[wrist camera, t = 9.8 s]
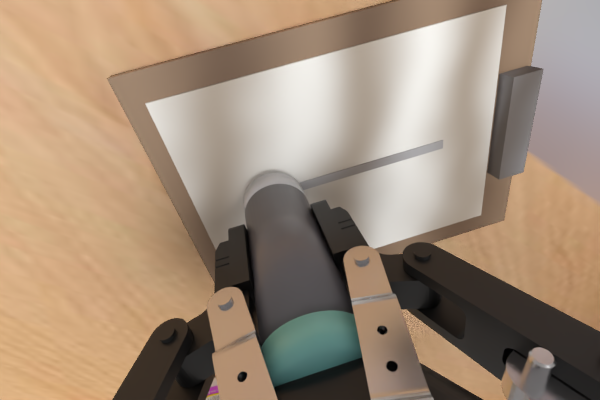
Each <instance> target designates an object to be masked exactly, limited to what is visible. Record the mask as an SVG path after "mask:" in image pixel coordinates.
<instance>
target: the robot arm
mask: <svg viewBox="0 0 600 400" xmlns="http://www.w3.org/2000/svg"><path fill="white" fill-rule="evenodd" d="M310 206H311V210H312V213H313V215H314V217H315V219H316V222H317V224H318V226H319V229H320V231H321V233H322V235H323V238H324V240H325V242H326V244H327V247H328V249H329V251H330V253H331V256H332V258H333V260H334V262H335V265H336V266H337V268H338V270H339V272H340V274H341V276H342V279H343V281H344V283H345V285H346V287H347V290H348V292H349V294H350V297H351V302H352V307H353V312H354V317H355V322H356V327H357V332H358V337H359V342H360V348H361V353H362V358H359V359H356V360H353V361H350V362H347V363H344V364H341V365H338V366H335V367H332V368H329V369H326V370H323V371H320V372H317V373H314V374H311V375H308V376H305V377H302V378H299V379H296V380H293V381H290V382H287V383H284V384H281V385H278V386H275V385H274V382H273V380H272V377H271V374H270V371H269V368H268V365H267V362H266V359H265V356H264V352H263V349H262V344H261V341H260V339H259V330H258V322H257V313H256V305H255V297H254V285H253V277H252V269H251V260H250V252H249V244H248V235H247V229H246V226H245V225H244V224H242V225H239V226H236V227H232V228H229V229H228V241H224V242H221V243H220V244H219V246H218V247H217V249H216V251H215V294H214V295H213V296H212V297H211V298H210V299H209V301H208V304H207V310H206V311H204V312H203V313H202V314H200V315H199V316H197V317H196V318H194V319H192V320H191V321H189V322H187V323H186V322H185V321H184V320H183V319H180V318H174V319H170V320H168V321H166V322H164V323H162V324H161V325H160V326H159V327H157V328H156V329H155V331H154V332H153V333H152V335H151V336H150V338H149V340H148V341H147V343H146V345H145V346H144V348H143V350H142V351H141V353H140V355H139V356H138V358H137V360H136V361H135V363H134V365H133V366H132V368H131V370H130V371H129V373H128V375H127V376H126V378H125V380H124V381H123V383H122V385H121V386H120V388H119V390H118V391H117V393H116V395H115V396H114V398H113V400H206V397H207V395H208V392H209V390H210V387H211V385H212V382H213V379H214V377H215V375H216V381H217V386H218V391H219V396H220V400H483V399H481V398H479V397H478V396H476V395H474V394H472V393H471V392H469V391H467V390H466V389H464V388H462V387H460V386H459V385H457V384H455V383H454V382H452V381H450V380H448V379H447V378H445V377H443V376H442V375H440V374H438V373H437V372H435V371H433V370H431V369H430V368H428V367H426V366H425V365H423V364H421V363H420V362H419V360H418V357H417V354H416V351H415V348H414V345H413V342H412V339H411V336H410V334H409V331H408V328H407V325H406V322H405V319H404V316H403V313H402V310H401V309H407V310H408V311H409V312H410V313H411V314H413V315H414V316H415V317H417V318H418V319H419V320H421V321H422V322H424V323H425V324H426V325H428V326H429V327H430V328H432V329H433V330H434V331H436V332H437V333H438V334H440V335H441V336H442V337H444V338H445V339H446V340H448V341H449V342H450V343H452V344H453V345H454V346H456V347H457V348H458V349H460V350H461V351H462V352H464V353H465V354H466V355H468V356H469V357H470V358H472V359H473V360H474V361H476V362H477V363H478V364H480V365H481V366H482V367H484V368H485V369H486V370H488V371H489V372H490V373H492V374H493V375H494V376H496V377H497V378H498V379H500V380H501V387H502V391H503V393H504V396H505V397H506V399H507V400H600V332H599V331H597V330H595V329H594V328H592V327H590V326H588V325H586V324H584V323H582V322H580V321H578V320H576V319H574V318H573V317H571V316H569V315H567V314H565V313H563V312H561V311H559V310H557V309H555V308H553V307H551V306H550V305H548V304H546V303H544V302H542V301H540V300H538V299H536V298H534V297H532V296H530V295H529V294H527V293H525V292H523V291H521V290H519V289H517V288H515V287H513V286H511V285H509V284H508V283H506V282H504V281H502V280H500V279H498V278H496V277H494V276H492V275H490V274H488V273H487V272H485V271H483V270H481V269H479V268H477V267H475V266H473V265H471V264H469V263H467V262H466V261H464V260H462V259H460V258H458V257H456V256H454V255H452V254H450V253H448V252H446V251H444V250H443V249H441V248H439V247H437V246H435V245H433V244H430V243H426V242H416V243H412V244H410V245H408V246H407V247H406V248H405V249H404V250H403V254H393V255H387V254H381V253H378V252H377V251H376V250H375V249H374V248H372V247H369V245H368V244H367V242H366V240H365V239H364V237H363V235H362V234H361V232H360V231H359V229H358V227H357V226H356V224H355V222H354V221H353V220H352V218H351V216H350V214H349V213H348V211H346V210H345V209H343V208H341V207H336V208H333V209H330V207H329V205H328V203H327V201H326V200H322V201H319V202H315V203H312V204H310Z"/></svg>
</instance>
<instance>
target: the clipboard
mask: <svg viewBox="0 0 600 400" xmlns="http://www.w3.org/2000/svg"><path fill="white" fill-rule="evenodd" d="M541 4H542V0H393V1H390V2H386V3H382V4H378V5H375V6H371V7H367V8H363V9H360V10H356V11H352V12H349V13H345V14H341V15H337V16H334V17H330V18H326V19H322V20H319V21H315V22H311V23H307V24H304V25H300V26H296V27H292V28H289V29H285V30H281V31H277V32H274V33H270V34H266V35H262V36H259V37H255V38H251V39H247V40H244V41H240V42H236V43H232V44H229V45H225V46H221V47H217V48H214V49H210V50H206V51H202V52H199V53H195V54H191V55H187V56H184V57H180V58H176V59H172V60H169V61H165V62H161V63H158V64H154V65H150V66H146V67H143V68H139V69H135V70H131V71H128V72H124V73H120V74H116V75H113V76H110V77H109V78H107V79H108V81H109V83H110V85H111V87H112V89H113V91H114V93H115V95H116V97H117V98H118V100H119V102H120V104H121V106H122V108H123V110H124V112H125V114H126V116H127V117H128V119H129V121H130V123H131V125H132V127H133V129H134V131H135V133H136V135H137V136H138V138H139V140H140V142H141V144H142V146H143V148H144V150H145V152H146V154H147V155H148V157H149V159H150V161H151V163H152V165H153V167H154V169H155V171H156V172H157V174H158V176H159V178H160V180H161V182H162V184H163V186H164V188H165V190H166V191H167V193H168V195H169V197H170V199H171V201H172V203H173V205H174V207H175V209H176V210H177V212H178V214H179V216H180V218H181V220H182V222H183V224H184V226H185V228H186V229H187V231H188V233H189V235H190V237H191V239H192V241H193V243H194V245H195V247H196V248H197V250H198V252H199V254H200V256H201V258H202V260H203V262H204V264H205V266H206V267H207V269H208V271H209V273H210V275H211V277H212V279H213V281H214V283H215V251H216V249H217V247H218V246H219V244H220V243H221V242H224V241H228V229H229V228H232V227H236V226H239V225H242V224H244V225H245V226H246V221H245V212H244V204H243V198H244V194H245V191H246V189H247V187H248V186H249V185H250V184H251V182H253V181H254V180H255V179H256V178H258V177H260V176H262V175H265V174H268V173H284V174H287V175H290V176H292V177H293V178H295V179H296V180H297V181H298V182H299V183H300V185H301V187H302V189H303V191H304V193H305V195H306V198H307V200H308V202H309V204H312V203H315V202H319V201H322V200H326V201H327V203H328V205H329V207H330V209H333V208H336V207H341V208H343V209H345V210H346V211H348V213H349V214H350V216H351V218H352V220H353V221H354V222H355V224H356V226H357V227H358V229H359V231H360V232H361V234H362V235H363V237H364V239H365V240H366V242H367V244H368V245H369V247H372V248H374V249H375V250H376V251H377V252H378V253H381V254H387V255H393V254H399V253H403V250H404V249H405V248H406V247H407V246H408V245H410V244H412V243H416V242H426V243H430V244H431V243H434V242H437V241H440V240H443V239H447V238H450V237H453V236H456V235H459V234H462V233H465V232H469V231H472V230H475V229H478V228H481V227H484V226H487V225H490V224H494V223H497V222H500V221H503V220H504V218H505V212H506V206H507V201H508V195H509V189H510V183H511V178H512V176H513V175H516V174H519V173H522V172H524V166H525V161H526V156H527V151H528V146H529V140H530V136H531V130H532V125H533V120H534V115H535V110H536V105H537V100H538V94H539V89H540V84H541V79H542V74H543V69H542V68H537V67H532V66H531V62H532V56H533V50H534V44H535V39H536V33H537V27H538V21H539V15H540V10H541ZM310 207H311V206H310Z"/></svg>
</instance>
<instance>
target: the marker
mask: <svg viewBox="0 0 600 400" xmlns="http://www.w3.org/2000/svg"><path fill="white" fill-rule="evenodd" d="M243 204H244V212H245V221H246V229H247V235H248V244H249V252H250V260H251V269H252V277H253V285H254V297H255V305H256V313H257V322H258V330H259V339H260V341H261V344H262V349H263V352H264V356H265V359H266V362H267V365H268V368H269V371H270V374H271V377H272V380H273V382H274V385H275V386H278V385H281V384H284V383H287V382H290V381H293V380H296V379H299V378H302V377H305V376H308V375H311V374H314V373H317V372H320V371H323V370H326V369H329V368H332V367H335V366H338V365H341V364H344V363H347V362H350V361H353V360H356V359H359V358H362V353H361V348H360V342H359V337H358V332H357V327H356V322H355V317H354V312H353V307H352V302H351V297H350V294H349V292H348V290H347V287H346V285H345V283H344V281H343V279H342V276H341V274H340V272H339V270H338V268H337V266H336V265H335V262H334V260H333V258H332V256H331V253H330V251H329V249H328V247H327V244H326V242H325V240H324V238H323V235H322V233H321V231H320V229H319V226H318V224H317V222H316V219H315V217H314V215H313V213H312V210H311V207H310V204H309V202H308V200H307V198H306V195H305V193H304V191H303V189H302V187H301V185H300V183H299V182H298V181H297V180H296V179H295V178H293V177H292V176H290V175H287V174H284V173H268V174H265V175H262V176H260V177H258V178H256V179H255V180H254V181H253V182H251V184H250V185H249V186H248V187H247V189H246V191H245V194H244V198H243Z"/></svg>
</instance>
